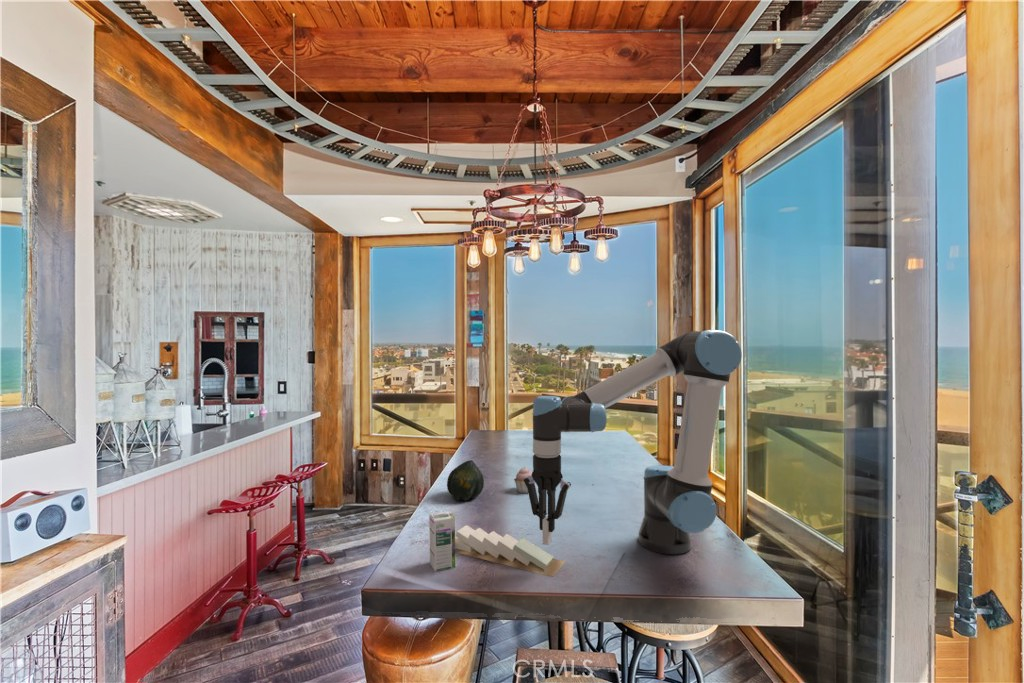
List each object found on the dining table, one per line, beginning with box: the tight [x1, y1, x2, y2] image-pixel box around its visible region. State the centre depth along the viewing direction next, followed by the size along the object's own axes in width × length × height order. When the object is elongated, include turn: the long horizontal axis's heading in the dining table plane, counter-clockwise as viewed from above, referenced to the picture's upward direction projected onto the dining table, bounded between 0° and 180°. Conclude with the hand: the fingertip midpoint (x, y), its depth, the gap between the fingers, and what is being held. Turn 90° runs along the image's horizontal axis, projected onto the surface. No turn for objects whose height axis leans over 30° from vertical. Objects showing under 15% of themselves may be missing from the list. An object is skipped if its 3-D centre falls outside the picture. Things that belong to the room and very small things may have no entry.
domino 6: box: [513, 537, 555, 570], centre depth 122 cm, size 2×5×10 cm
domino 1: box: [455, 533, 474, 552], centre depth 132 cm, size 2×5×10 cm
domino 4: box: [483, 530, 516, 562], centre depth 126 cm, size 2×5×10 cm
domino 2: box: [455, 524, 487, 555], centre depth 130 cm, size 2×5×10 cm
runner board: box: [455, 549, 566, 578], centre depth 125 cm, size 30×9×1 cm, turn 63°
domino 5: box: [497, 533, 531, 566], centre depth 124 cm, size 2×5×10 cm
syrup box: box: [428, 510, 456, 572], centre depth 121 cm, size 6×6×14 cm
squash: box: [446, 459, 485, 502], centre depth 177 cm, size 14×15×15 cm
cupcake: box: [513, 466, 536, 494], centre depth 184 cm, size 9×9×10 cm
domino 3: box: [468, 527, 501, 558], centre depth 128 cm, size 2×5×10 cm
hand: (547, 542), depth 120 cm, fingers closed
